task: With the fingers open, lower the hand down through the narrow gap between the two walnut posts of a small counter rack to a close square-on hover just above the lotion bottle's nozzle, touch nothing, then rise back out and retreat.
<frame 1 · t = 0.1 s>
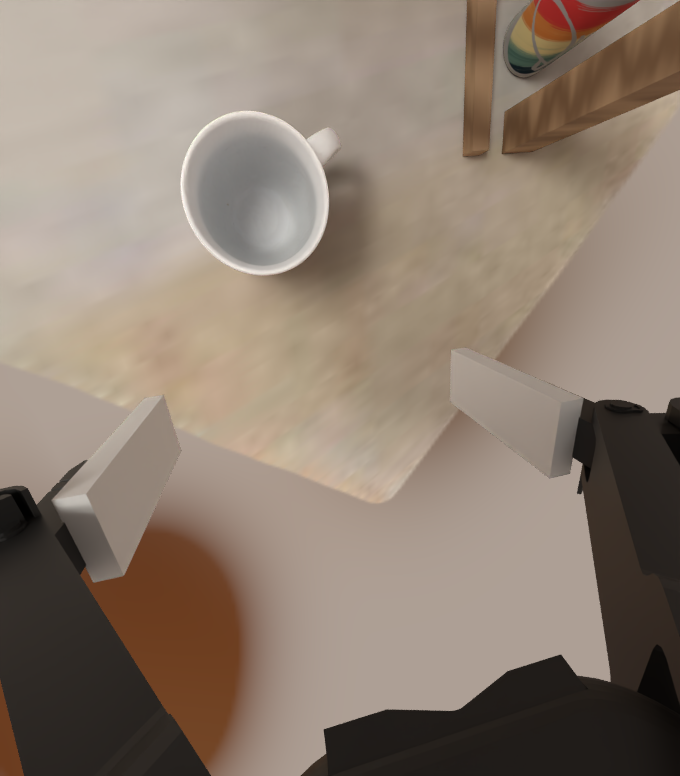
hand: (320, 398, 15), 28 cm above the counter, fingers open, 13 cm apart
rack: (525, 43, 36), on the counter
mug: (268, 212, 37), on the counter
lotion bottle: (524, 47, 37), on the counter
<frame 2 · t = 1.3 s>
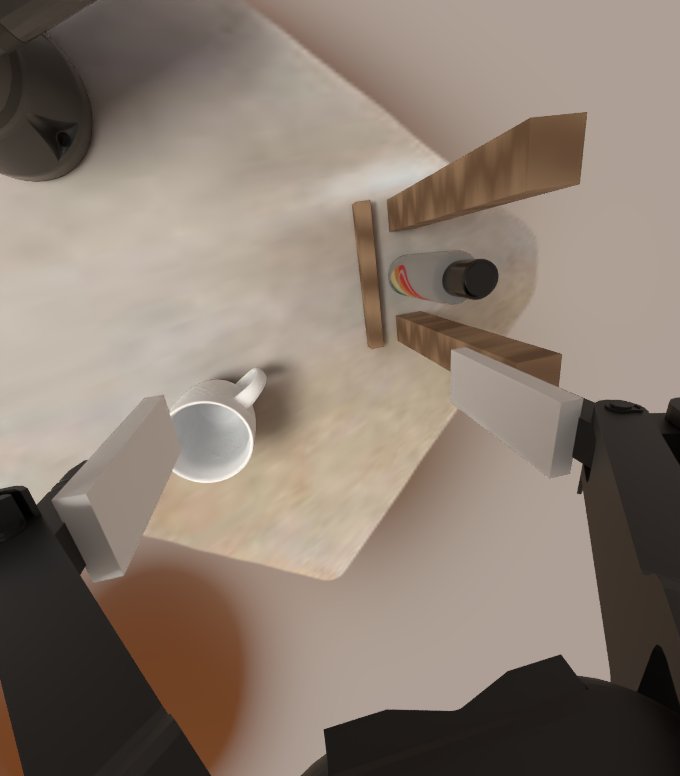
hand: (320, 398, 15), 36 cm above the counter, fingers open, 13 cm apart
rack: (405, 273, 51), on the counter
mug: (226, 397, 52), on the counter
lotion bottle: (405, 275, 51), on the counter
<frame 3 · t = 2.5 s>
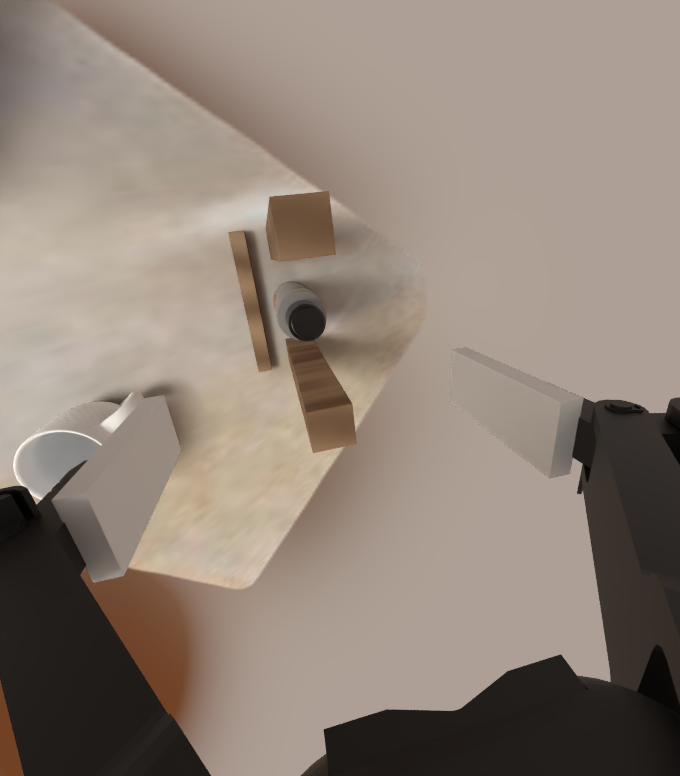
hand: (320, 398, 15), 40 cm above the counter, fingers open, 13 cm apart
rack: (291, 299, 52), on the counter
mug: (116, 417, 53), on the counter
lotion bottle: (291, 300, 52), on the counter
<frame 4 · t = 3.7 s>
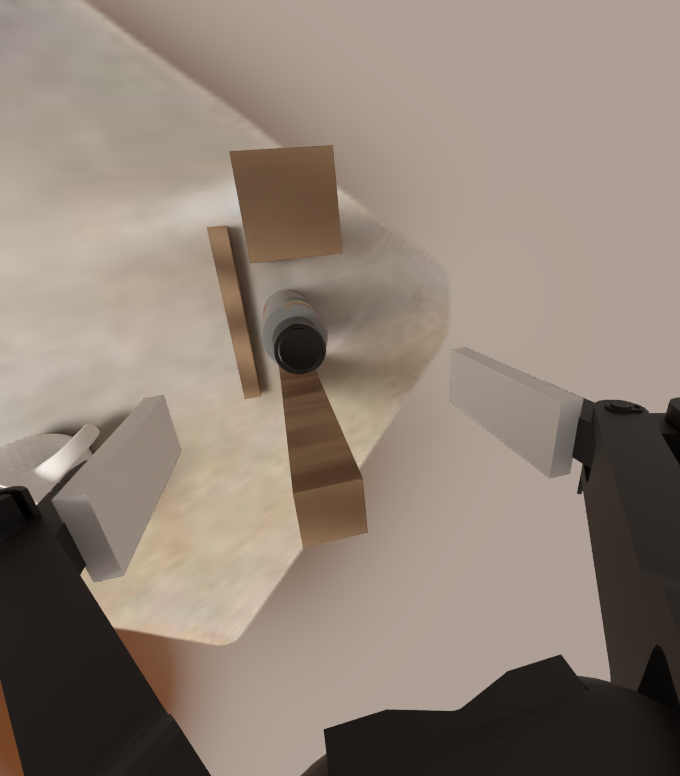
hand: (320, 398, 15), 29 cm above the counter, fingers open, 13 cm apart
rack: (286, 311, 42), on the counter
mug: (70, 450, 43), on the counter
lotion bottle: (286, 312, 43), on the counter
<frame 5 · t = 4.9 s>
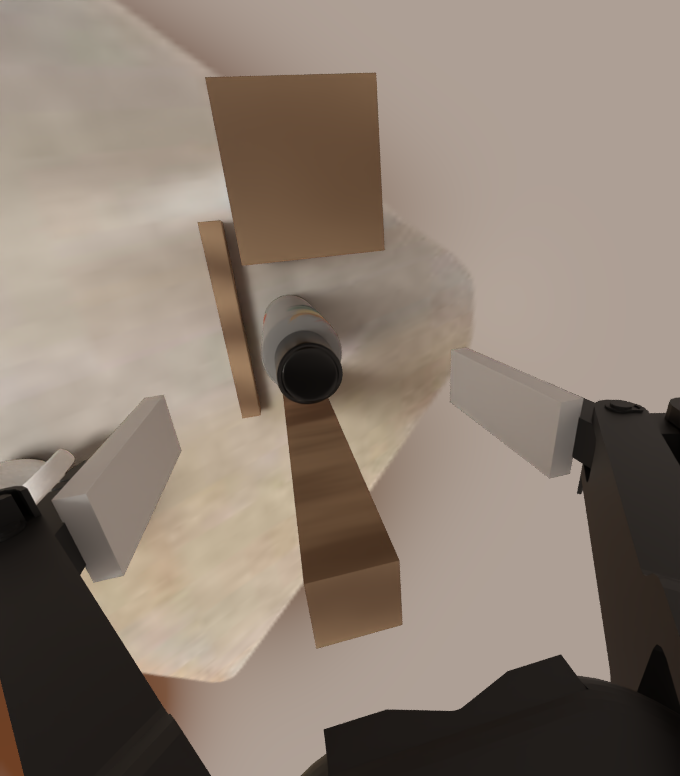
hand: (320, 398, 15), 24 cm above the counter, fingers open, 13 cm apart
rack: (289, 318, 37), on the counter
mug: (44, 477, 38), on the counter
lotion bottle: (289, 320, 38), on the counter
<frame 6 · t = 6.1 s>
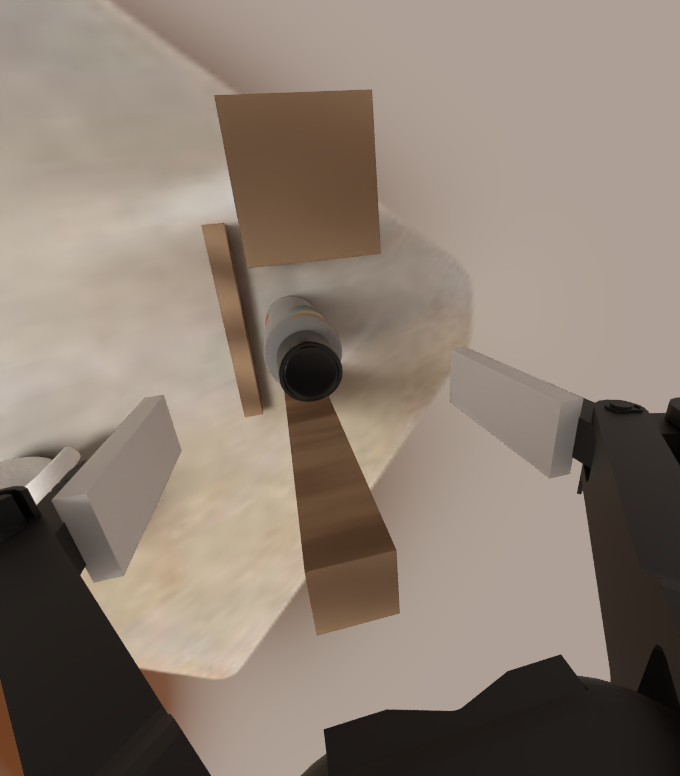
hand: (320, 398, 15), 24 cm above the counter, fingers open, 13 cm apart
rack: (291, 319, 38), on the counter
mug: (50, 474, 39), on the counter
lotion bottle: (291, 321, 38), on the counter
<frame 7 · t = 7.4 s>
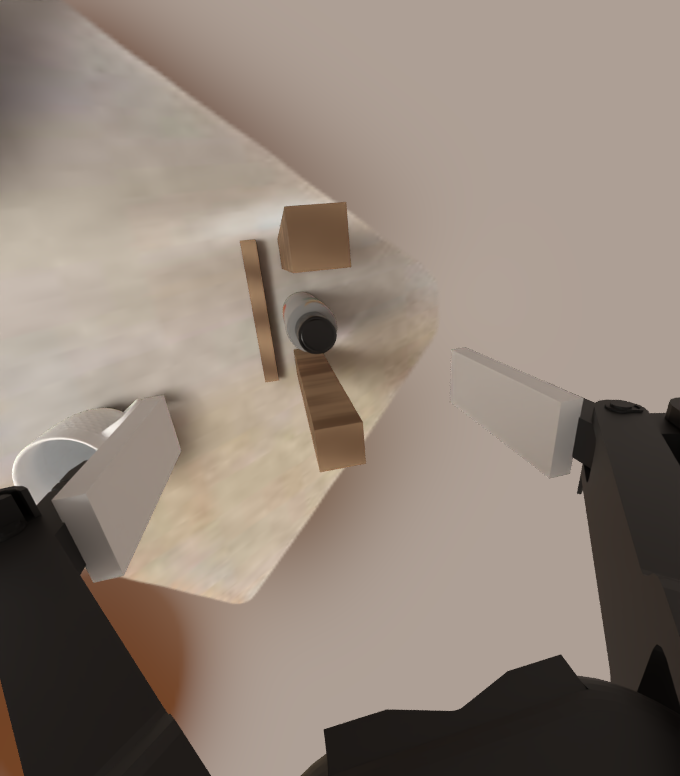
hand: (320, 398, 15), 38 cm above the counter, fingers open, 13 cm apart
rack: (301, 309, 51), on the counter
mug: (119, 424, 52), on the counter
lotion bottle: (301, 310, 51), on the counter
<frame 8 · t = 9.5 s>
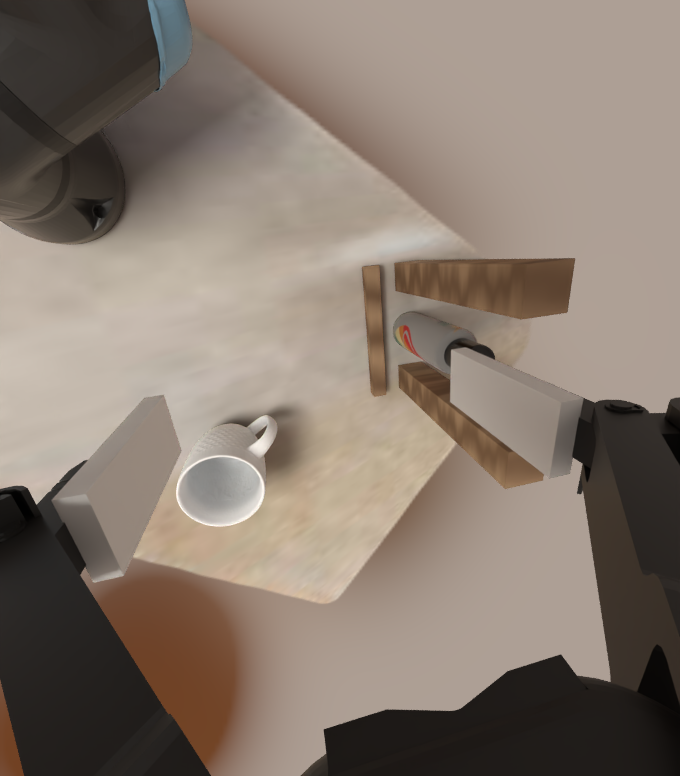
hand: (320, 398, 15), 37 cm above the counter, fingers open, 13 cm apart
rack: (408, 327, 54), on the counter
mug: (236, 437, 55), on the counter
lotion bottle: (408, 329, 54), on the counter
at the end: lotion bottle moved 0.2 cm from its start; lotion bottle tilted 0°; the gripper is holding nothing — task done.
